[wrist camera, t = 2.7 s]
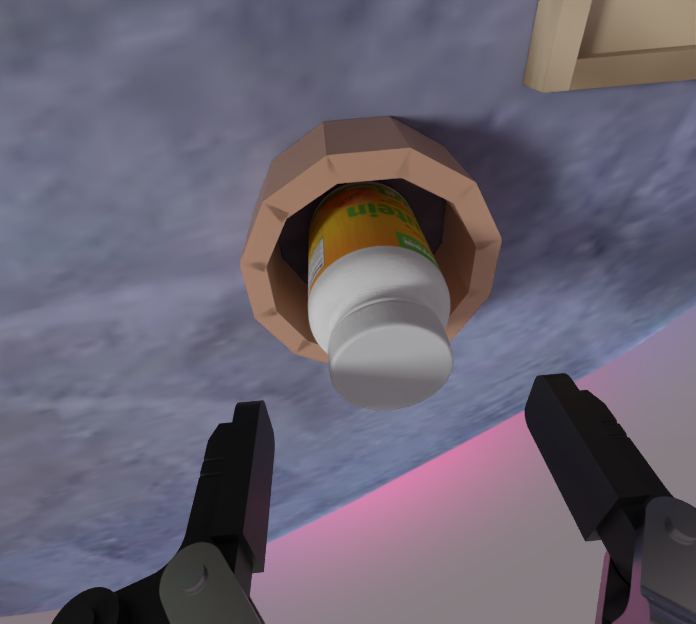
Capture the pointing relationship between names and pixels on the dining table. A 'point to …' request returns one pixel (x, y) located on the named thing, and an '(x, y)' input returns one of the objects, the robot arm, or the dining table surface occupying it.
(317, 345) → the holder ring
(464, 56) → the dining table surface
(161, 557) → the dining table surface
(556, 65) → the tray
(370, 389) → the supplement bottle
